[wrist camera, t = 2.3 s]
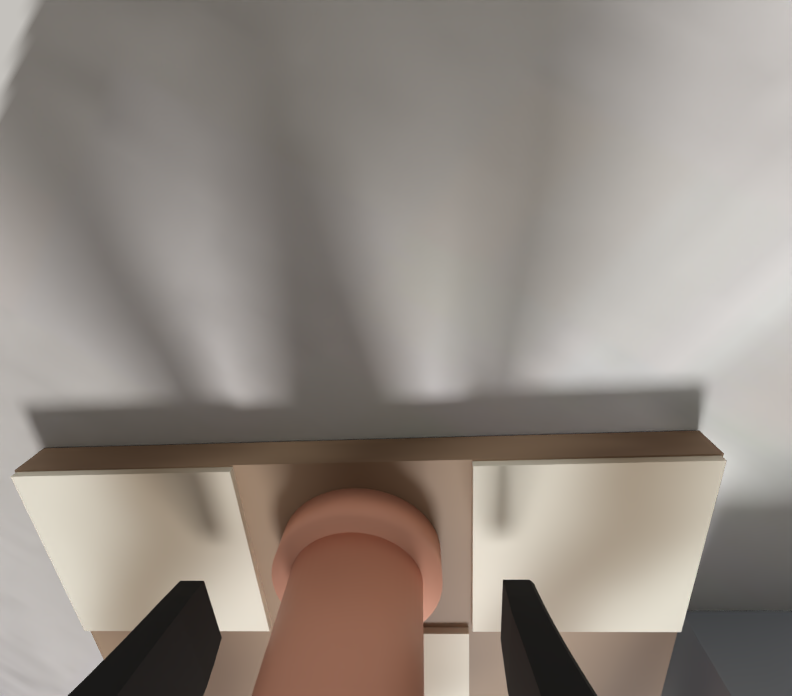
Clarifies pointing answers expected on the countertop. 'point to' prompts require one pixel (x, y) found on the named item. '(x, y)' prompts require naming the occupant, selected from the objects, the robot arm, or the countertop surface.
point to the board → (439, 502)
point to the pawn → (352, 598)
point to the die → (732, 655)
